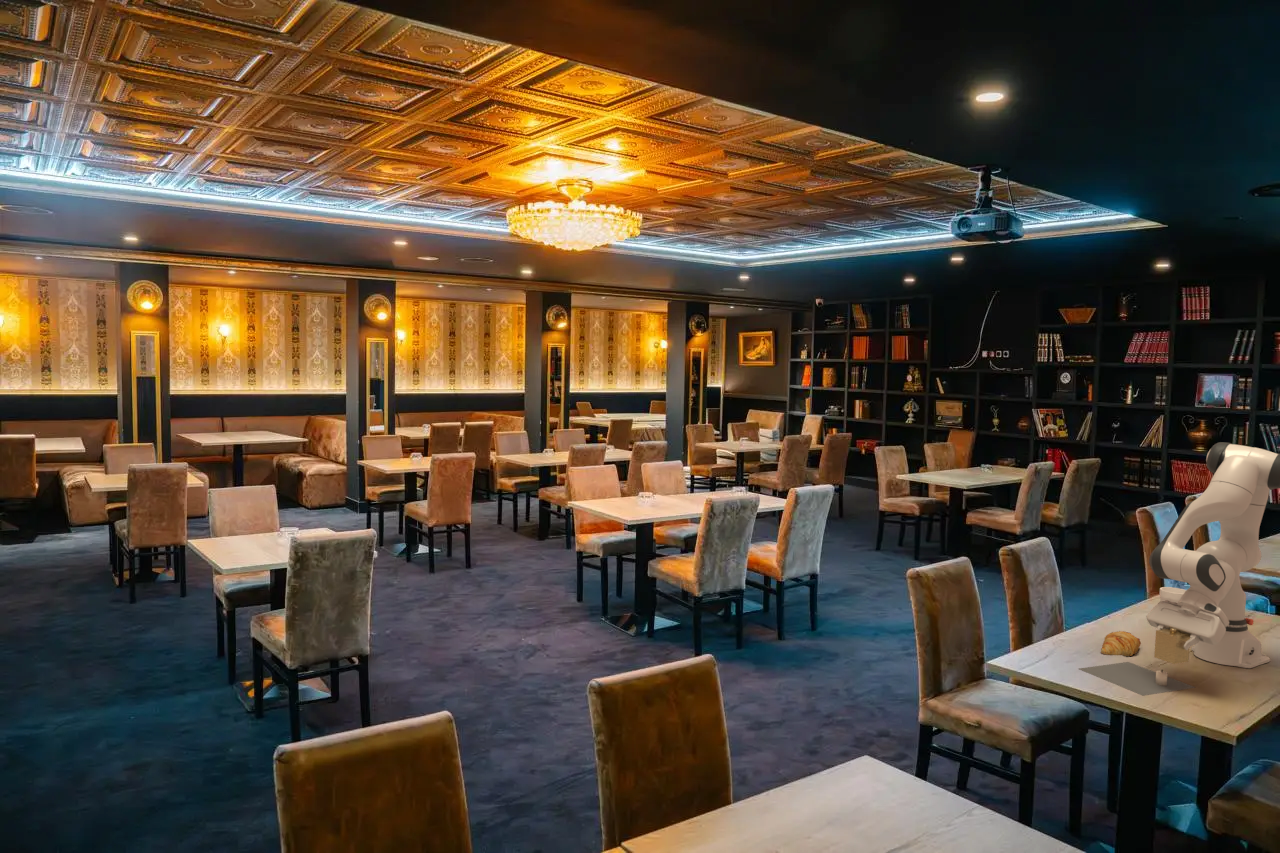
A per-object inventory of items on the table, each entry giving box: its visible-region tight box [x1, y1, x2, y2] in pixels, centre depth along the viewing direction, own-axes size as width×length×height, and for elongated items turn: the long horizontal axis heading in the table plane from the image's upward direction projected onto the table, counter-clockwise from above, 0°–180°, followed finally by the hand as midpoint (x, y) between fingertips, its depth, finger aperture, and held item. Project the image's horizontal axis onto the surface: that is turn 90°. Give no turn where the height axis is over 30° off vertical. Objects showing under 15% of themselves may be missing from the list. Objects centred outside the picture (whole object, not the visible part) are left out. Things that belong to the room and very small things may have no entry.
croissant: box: [1100, 630, 1142, 657], centre depth 277 cm, size 21×10×8 cm, turn 124°
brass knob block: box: [1154, 628, 1191, 665], centre depth 243 cm, size 6×6×9 cm
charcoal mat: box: [1078, 661, 1196, 697], centre depth 251 cm, size 21×22×1 cm
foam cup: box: [1158, 586, 1187, 603], centre depth 307 cm, size 10×9×13 cm
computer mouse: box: [1155, 669, 1168, 686], centre depth 246 cm, size 3×3×4 cm
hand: (1170, 644), depth 243 cm, fingers closed on brass knob block, 6 cm apart
